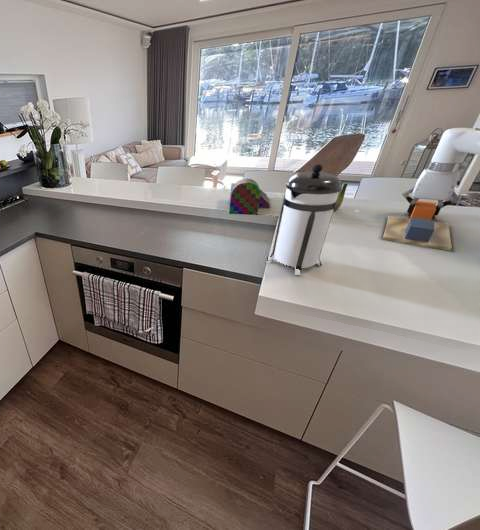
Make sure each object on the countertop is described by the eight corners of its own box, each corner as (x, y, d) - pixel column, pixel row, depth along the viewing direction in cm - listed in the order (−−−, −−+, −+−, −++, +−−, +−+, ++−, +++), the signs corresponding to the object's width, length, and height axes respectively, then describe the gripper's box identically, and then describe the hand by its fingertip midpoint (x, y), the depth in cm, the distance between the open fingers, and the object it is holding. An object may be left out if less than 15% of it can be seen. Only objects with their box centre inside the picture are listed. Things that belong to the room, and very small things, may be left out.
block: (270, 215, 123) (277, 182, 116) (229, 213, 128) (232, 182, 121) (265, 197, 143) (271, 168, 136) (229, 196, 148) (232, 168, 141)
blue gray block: (427, 232, 96) (434, 220, 94) (427, 242, 91) (434, 229, 89) (405, 229, 100) (411, 217, 98) (404, 238, 94) (410, 226, 92)
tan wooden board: (447, 226, 101) (448, 223, 101) (450, 250, 88) (451, 247, 87) (388, 218, 111) (389, 215, 110) (382, 239, 97) (383, 236, 97)
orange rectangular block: (430, 213, 111) (435, 202, 108) (430, 221, 105) (436, 210, 103) (411, 211, 114) (415, 200, 112) (410, 218, 109) (415, 207, 106)
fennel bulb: (341, 210, 121) (350, 182, 115) (331, 212, 120) (339, 183, 114) (329, 206, 126) (337, 178, 120) (320, 208, 125) (327, 180, 119)
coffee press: (330, 280, 80) (367, 171, 65) (266, 272, 86) (287, 170, 71) (320, 252, 94) (349, 156, 78) (266, 247, 100) (283, 156, 84)
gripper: (479, 166, 97) (452, 216, 107) (410, 163, 108) (391, 208, 117) (481, 171, 93) (453, 223, 102) (410, 167, 103) (390, 214, 112)
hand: (420, 215), depth 109 cm, fingers open, 5 cm apart
